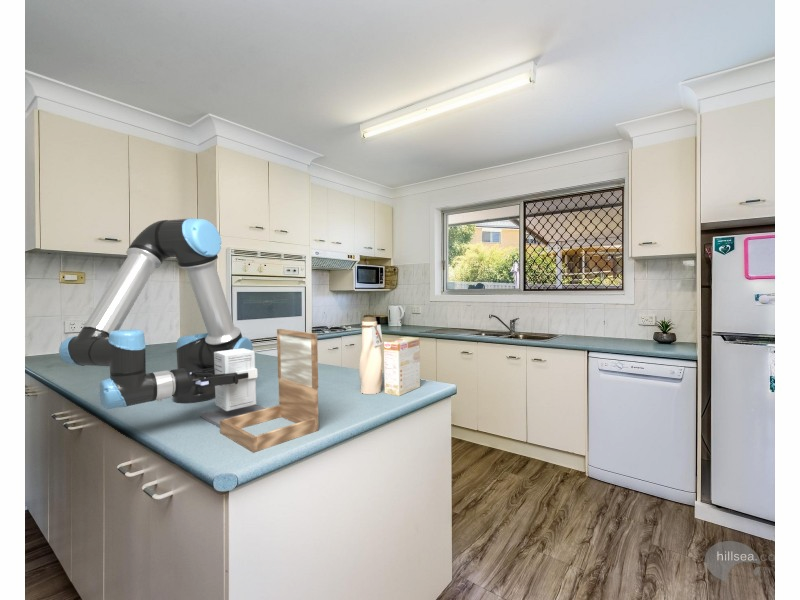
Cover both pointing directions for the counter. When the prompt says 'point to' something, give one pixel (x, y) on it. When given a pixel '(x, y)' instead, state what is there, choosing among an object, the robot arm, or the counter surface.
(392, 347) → the coffeecake box
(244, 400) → the supplement box
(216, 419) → the mat
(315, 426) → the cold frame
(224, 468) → the counter surface
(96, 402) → the counter surface
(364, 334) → the water bottle
